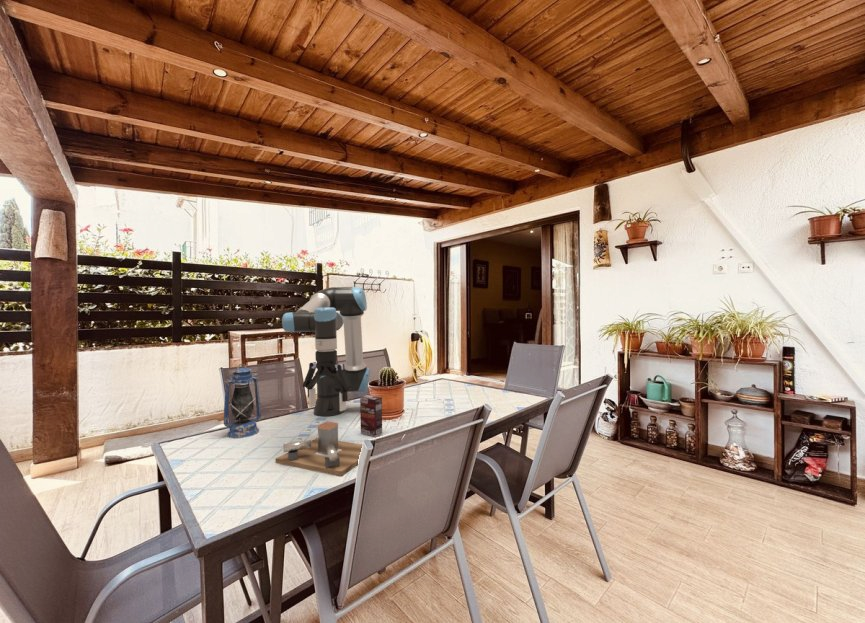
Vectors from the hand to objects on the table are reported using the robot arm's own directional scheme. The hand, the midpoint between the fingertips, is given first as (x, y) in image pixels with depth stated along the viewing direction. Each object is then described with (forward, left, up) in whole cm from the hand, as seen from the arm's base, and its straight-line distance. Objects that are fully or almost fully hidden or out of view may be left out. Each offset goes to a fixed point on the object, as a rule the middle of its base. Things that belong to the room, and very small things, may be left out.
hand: (327, 408), depth 135 cm
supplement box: (-26, +2, -18) cm, 31 cm away
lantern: (-7, -51, -18) cm, 54 cm away
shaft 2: (+8, +8, -16) cm, 19 cm away
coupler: (0, 0, -16) cm, 16 cm away
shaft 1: (+8, -7, -16) cm, 19 cm away
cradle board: (0, 0, -18) cm, 18 cm away
